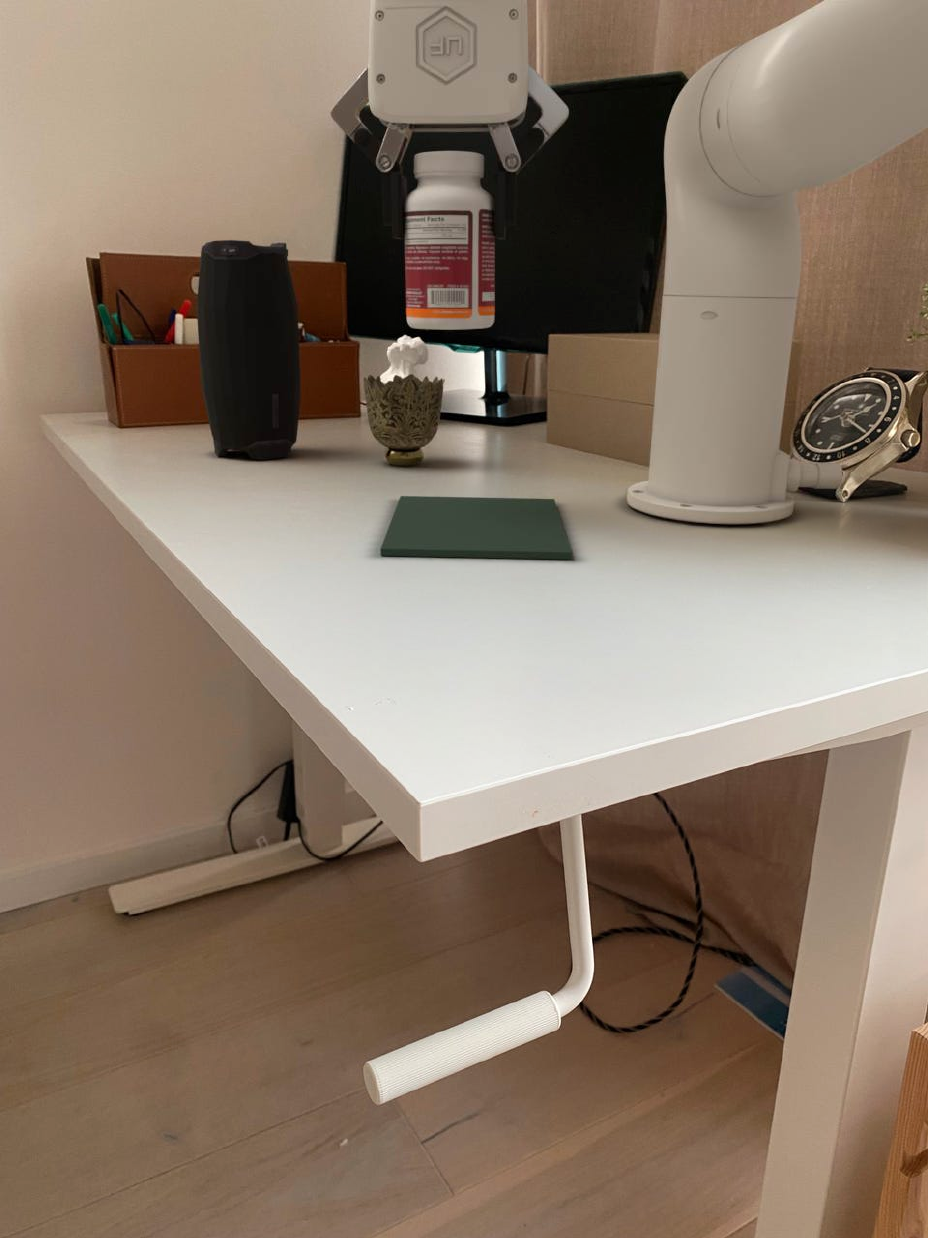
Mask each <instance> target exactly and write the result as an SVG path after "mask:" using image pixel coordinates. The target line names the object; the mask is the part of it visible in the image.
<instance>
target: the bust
mask: <svg viewBox="0 0 928 1238" xmlns="http://www.w3.org/2000/svg"><path fill="white" fill-rule="evenodd" d="M386 356H387V361H388V363H390V366H389V367H388V369H387V370H386V371H384V372H383V373H381V375H380V380H381V382H383V383H387V382H388V381H393V378H394V376H395V375H397V376H400V377H401V378H402V379H404V378H405V377H407V376H408V375H410V374H413V375H414V376H415V377H416V378H418V379H419V380H420V381H421V379H420V378H419V376H418V375H417V372H416V370H415V368H414V367H416V366H418V365H425V364H426V363H427V362H428V360H429V349H428V346H427V345H426V343H425V342H424V341H423V340H422V339H421V337H420V336H417V337H413V338H412V337H411V336H408V335H407V334H404V335H403V336H401V337H399V338H397V341H396V342H393V343H392V344H391V345H390V346H388V347H387V351H386ZM384 385H385V384H384Z"/></svg>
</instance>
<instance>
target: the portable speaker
mask: <svg viewBox="0 0 928 1238" xmlns="http://www.w3.org/2000/svg"><path fill="white" fill-rule="evenodd" d="M288 257H289V249H288V247H287V242H275V243H271V244H269V245H259V244H253V243H252V242H251V241H250V240H238V239H237V240H235V239H225V240H223V239H222V240H211V241H207V242H205V244H204V245H202V246H201V251H200V261H199V262H200V263H199V275H198V285H197V286H198V287H197V298H196V318H197V333H198V334H197V335H198V351H199V365H200V378H201V379H200V380H201V383H200V384H201V393H202V398H203V401H204V402H203V403H204V407H205V412H206V415H207V419H208V425H209V429H210V433H211V437H212V440H213V448H214V449H213V450H214V453H215V455H216V456H217V457H226V455H227V453H228V451H237V452H239V451H240V452H246V453H247V455H248V456H249V457H250V459H253V460H257V461H258V460H259V461H262V460H263V461H264V460H271V459H281V458H286V457H289V455H290V453H291V449H292V448H293V446H294V444H296V443H297V441H298V439H297V438H298V430H299V419H300V408H301V359H300V335H299V315H298V314H299V313H298V302H297V296H296V291H295V289H294V283H293V278H292V273H291V269H290V265H289V260H288V259H289V258H288Z"/></svg>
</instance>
